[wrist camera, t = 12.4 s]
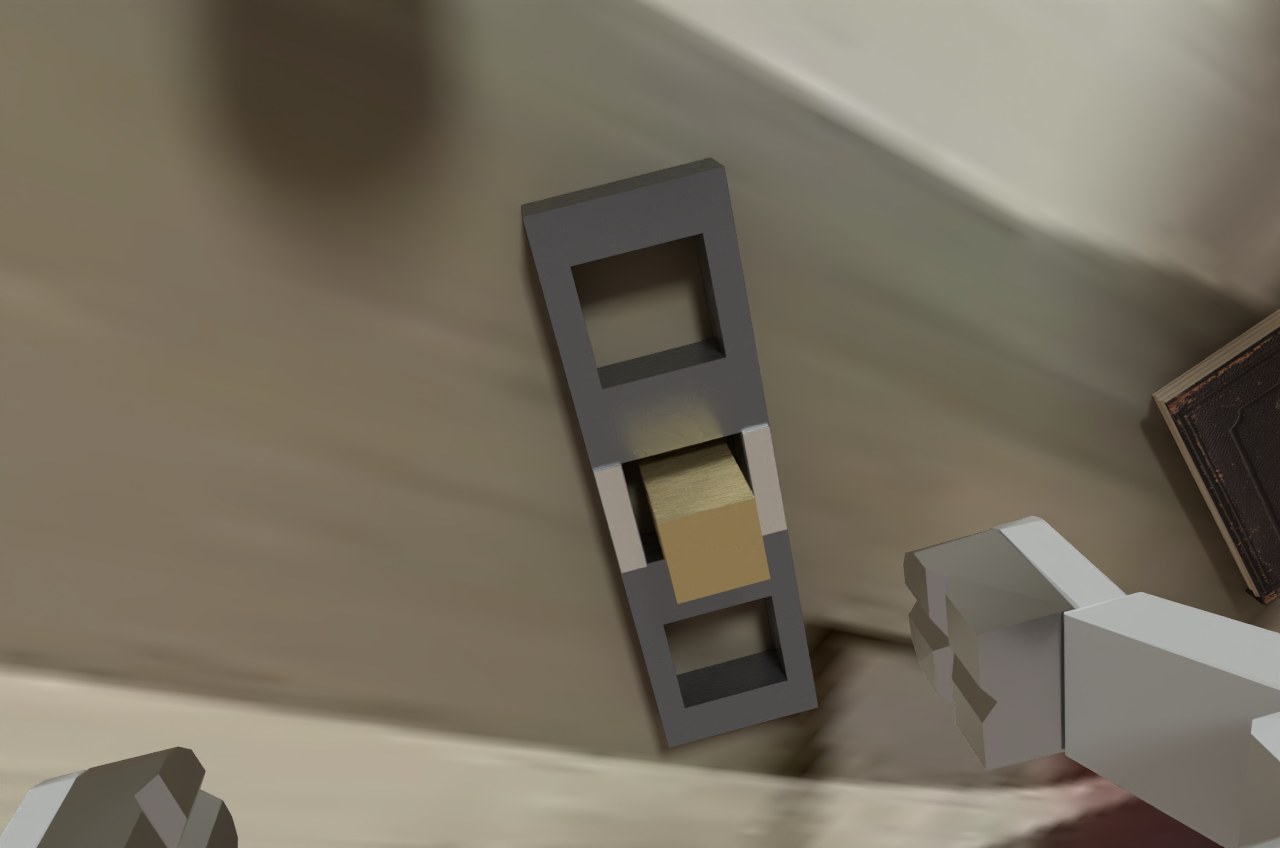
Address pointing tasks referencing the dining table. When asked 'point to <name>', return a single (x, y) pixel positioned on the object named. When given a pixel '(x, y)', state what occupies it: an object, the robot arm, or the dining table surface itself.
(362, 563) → the dining table surface
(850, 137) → the dining table surface
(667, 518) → the block
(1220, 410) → the hardcover book
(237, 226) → the dining table surface
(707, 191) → the grey slotted tray
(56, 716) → the dining table surface
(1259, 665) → the robot arm
